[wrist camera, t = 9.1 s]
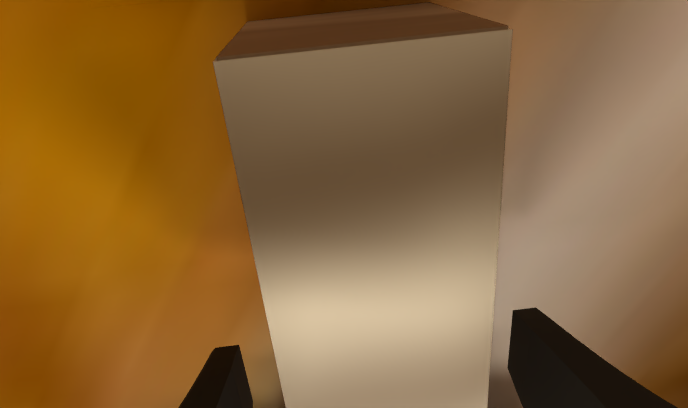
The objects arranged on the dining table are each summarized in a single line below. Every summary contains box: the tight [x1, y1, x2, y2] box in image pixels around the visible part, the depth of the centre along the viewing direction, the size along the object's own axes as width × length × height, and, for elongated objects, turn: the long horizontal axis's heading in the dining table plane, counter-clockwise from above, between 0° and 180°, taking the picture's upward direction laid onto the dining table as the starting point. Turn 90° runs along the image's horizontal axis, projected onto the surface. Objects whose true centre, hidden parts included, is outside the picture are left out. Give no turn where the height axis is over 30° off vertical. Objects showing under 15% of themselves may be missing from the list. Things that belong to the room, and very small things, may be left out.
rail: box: [213, 2, 513, 408], centre depth 13 cm, size 16×4×5 cm, turn 5°
